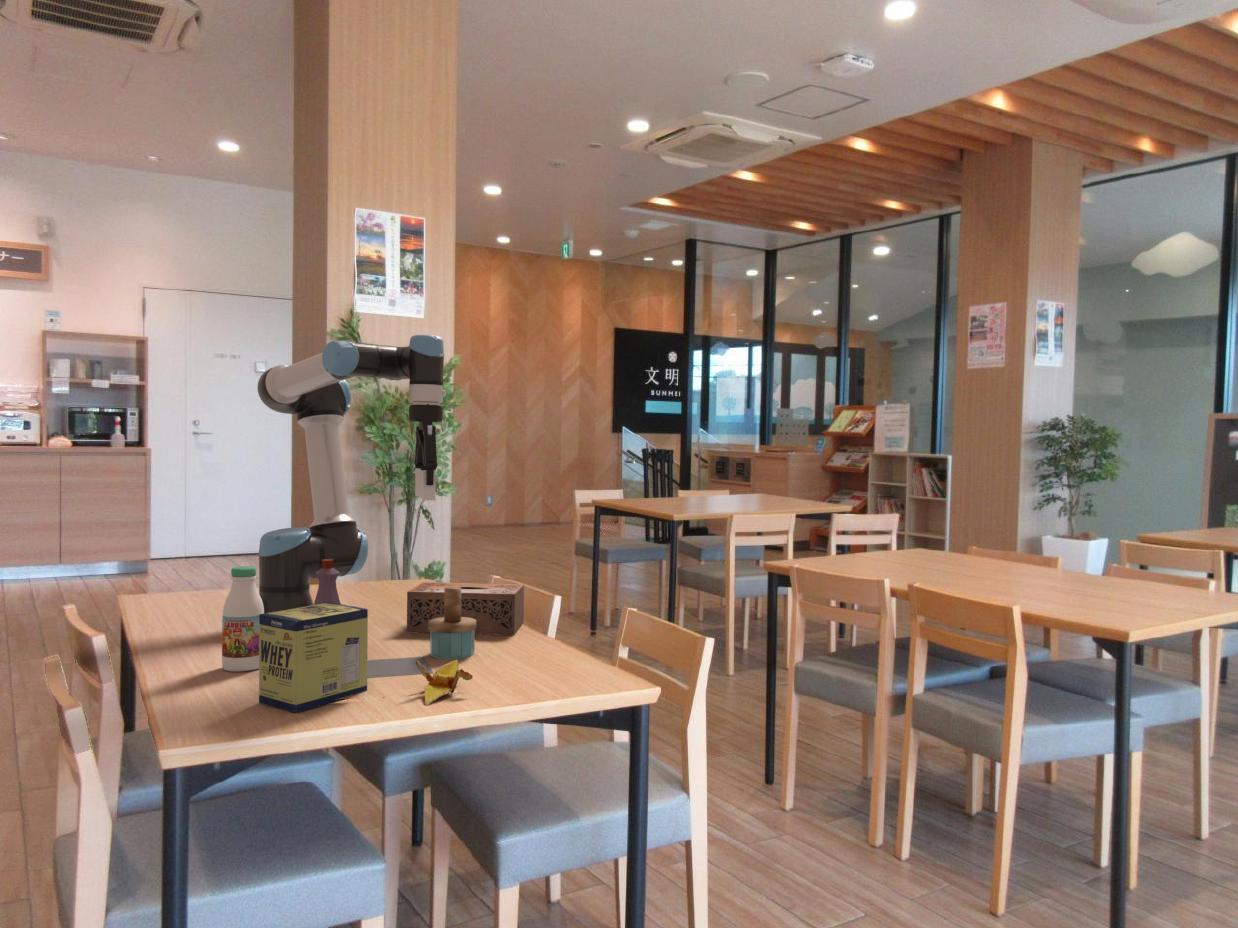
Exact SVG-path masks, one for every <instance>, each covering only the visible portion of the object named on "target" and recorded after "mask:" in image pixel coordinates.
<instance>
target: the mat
mask: <svg viewBox="0 0 1238 928" xmlns="http://www.w3.org/2000/svg"><path fill="white" fill-rule="evenodd" d="M416 661H418V662H420V664H421V665H422V666H424V667H426V668H425V669H426V670H425V671H427V672H428V673H429V674H430V675H431V674H432V675H433V674H434V672H433V670H432V668H431V666H430V664H429V662H428V660H427V659H426V657H425V656H416V657H414V656H413V657H397V658H384V659H382V658H381V659H367V679H373V678H387V677H402V676H414V675H415V676H416V675H422V673H421V671H420V669H419V668H418V667H417V665H416ZM423 664H424V665H423Z"/></svg>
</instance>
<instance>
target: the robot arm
mask: <svg viewBox="0 0 1238 928" xmlns="http://www.w3.org/2000/svg"><path fill="white" fill-rule="evenodd" d="M444 351H445V349H444V340H443V338H442V337H441V336H438V335H432V334H416V335H412V336H411V337H410V338H409V344H408V346H393V345H383V344H375V343H374V344H373V343H366V342H365V343H364V342H358V341H357V342H356V341H349V340H331V341H329V342H327V343H326V346H325V347H324V348H323V351H322V352H320V353H318V354H315V355H312V356H311V357H308V358H305V359H302V360H299V361H297V362H295V363H292V364H290V365H287V364H280V365H275V366H273V367H271V368H269V369H266V371H263V373H262V374H261V375H260V376H259V379H258V382H257V394H258V397H259V398H260V399H259V400H261V402H262V403H263V404H264V405H265V406H266V407H267V408H269V409H270V410H272V411H274V412H276V413H281V414H284V415H285V414H287V415H288V414H289V415H296V419H297V424H298V425H299V427H302V429H304V437H305V445H306V454H307V465H308V472H309V474H308V475H309V483H310V491H311V499H312V500H311V501H312V507H313V508H312V510H313V522H311V523H310V524H309V527H307V526H295V527H286V528H279V529H274V530H270V531H268V532H266V533H264V534H263V535H261V537H260V539H259V547H258V561H259V562H258V563H259V564H258V565H259V566H258V567H259V568H258V570H259V572H258V573H259V574H258V577H259V578H258V584H259V585H258V586H259V587H258V590H259V591H258V593H259V595H260V597H261V599H262V602H263V606H264V613H271V612H278V611H283V610H289V609H295V608H301V607H306V606H312V605H314V601H313V598H312V595H311V590H310V589H311V588H310V585H311V584H310V583H311V581H310V580H313V579H318V578H317V576H316V572H317V571H319V570H320V569H321V568H322V560H324V559H333V568H334V569H336V570H337V571H338V572H339V575H338V577H345V576H348V575H354V574H357V573H358V572H360V571H361V570H362V569H363V567H364V566H365V564H366V562H367V560H368V555H369V539H368V536H367V535H366V533H365V531H364V530H362V529H360V528H358V527H357V526H358V525H357V520H356V519H354V518H353V517H351V515H350V509H349V502H348V496H347V495H348V493H347V487H346V476H345V467H344V466H345V465H344V459H343V451H342V443H341V433H340V425H341V424H342V423H343V422H344V420H345V417H344V416H345V415H346V414H348V412H349V410H350V408H351V405H350V404H351V403H352V395H351V394H352V393H351V389H350V386H349V383H348V382H347V380H348V379H351V378H354V377H361V378H375V379H376V378H377V379H385V380H388V381H389V380H390V381H396V382H397V381H401V380H409V382H408V383H409V384H408V402H409V403H411V404H410V405H409V406H408V420H409V422H412V423H413V422H416V423H419V424H418V425H416V428H415V436H416V437H415V451H414V462H413V464H414V467H415V470H414V471H415V474H414V476H415V477H414V486H415V487H414V497H416V498H417V497H418V498H419V497H422V501H436V484H437V483H436V480H437V479H436V475H437V474H436V473H437V472H436V471H437V468H438V466H439V465H438V456H437V439H436V438H437V437H436V436H437V435H436V434H437V432H436V430H437V429H436V428H437V427H436V425H434V424H433V423H441V422H443V420H444V407H443V405H441V404H443V402H444V395H446V393H447V392H446V390H445V389H443V388H444V370H445V369H444V366H445V365H444V364H445V363H444V362H445V361H444V360H445V352H444Z"/></svg>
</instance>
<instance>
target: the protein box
mask: <svg viewBox="0 0 1238 928" xmlns="http://www.w3.org/2000/svg"><path fill="white" fill-rule="evenodd" d="M368 611H369V610H368V608H363V607H359V606H354V605H353V606H352V605H347V604H342V603H341V604H337V603H332V602H329V603H323V604H317V605H312V606H306V607H301V608H295V609H289V610H283V611H278V612H271V613H264V614H260V615H259V669H258V675H259V676H258V684H259V685H258V703H259V704H264V705H266V706H268V707H269V706H270V707H273V708H276V709H279V708H280V709H279V710H283V711H286V710H287V712H290V713H293V714H299V713H303V712H306V711H309V710H314V709H316V708H320V707H323V706H328V705H331V704H335V703H339V702H342V701H344V700H347V698H346V697H348V696H353V695H355V694H359V693H364V692H366V691H368V678H367V660H368V642H369V641H368V635H369V634H368V633H369V632H368V631H369V629H368V625H369V623H368V620H369V619H368V618H369V617H368V616H369V613H368Z"/></svg>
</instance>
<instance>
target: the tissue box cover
mask: <svg viewBox="0 0 1238 928" xmlns="http://www.w3.org/2000/svg"><path fill="white" fill-rule="evenodd" d="M447 587H460V588H461V617H468V618H473V619H475V620H476V629H475V635H488V634H502V635H501V636H515V635H516V634H517V632H518V631H519V630H520V629H521V627H522V626H523V625H524V623H525V622H524V620H525V619H524V615H525V612H524V610H525V608H524V607H525V606H524V605H525V585H524V584H513V583H510V584H508V583H469V582H468V583H466V582H463V583H462V582H429V581H428V582H426V581H425V582H421V583H420V584H418V585H416V586H414V587H412V588H411V589H409V590H407V592H406V633H408V632H416V634H430V630H429V629H428V622H429V620H432V619H435V618H441V617H444V588H447ZM417 632H418V633H417Z"/></svg>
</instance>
